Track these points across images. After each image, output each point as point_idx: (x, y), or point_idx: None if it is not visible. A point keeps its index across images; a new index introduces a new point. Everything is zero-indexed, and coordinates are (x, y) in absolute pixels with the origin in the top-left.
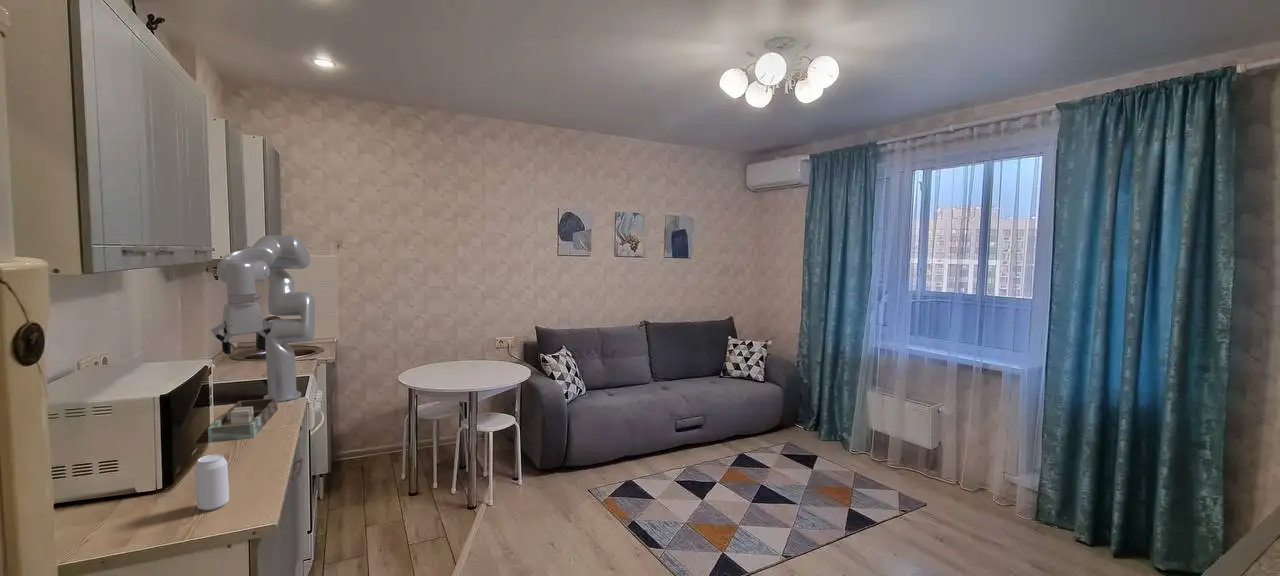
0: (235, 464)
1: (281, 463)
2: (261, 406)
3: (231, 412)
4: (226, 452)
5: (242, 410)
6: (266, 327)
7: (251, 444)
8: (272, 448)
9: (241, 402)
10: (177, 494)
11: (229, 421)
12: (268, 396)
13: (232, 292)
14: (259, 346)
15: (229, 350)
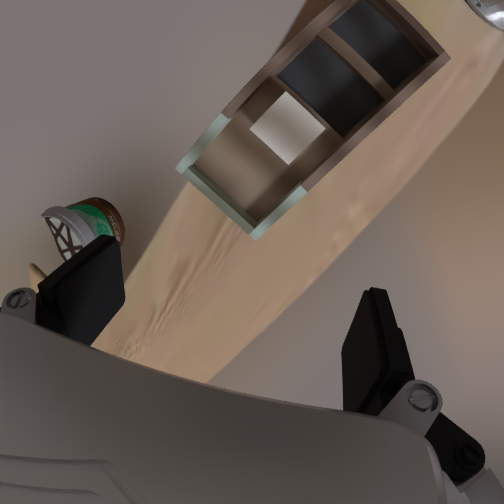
0: (173, 320)
1: (216, 371)
2: (407, 32)
3: (251, 130)
4: (185, 258)
5: (280, 144)
6: (456, 492)
7: (234, 260)
8: (244, 315)
9: None
10: (102, 335)
11: (267, 96)
12: None
13: None
14: (357, 325)
15: (106, 317)
